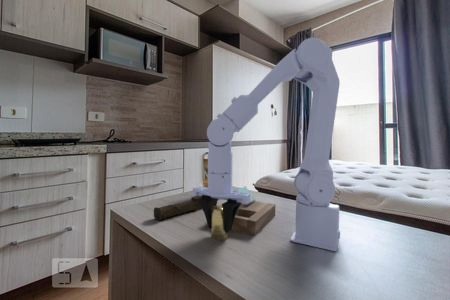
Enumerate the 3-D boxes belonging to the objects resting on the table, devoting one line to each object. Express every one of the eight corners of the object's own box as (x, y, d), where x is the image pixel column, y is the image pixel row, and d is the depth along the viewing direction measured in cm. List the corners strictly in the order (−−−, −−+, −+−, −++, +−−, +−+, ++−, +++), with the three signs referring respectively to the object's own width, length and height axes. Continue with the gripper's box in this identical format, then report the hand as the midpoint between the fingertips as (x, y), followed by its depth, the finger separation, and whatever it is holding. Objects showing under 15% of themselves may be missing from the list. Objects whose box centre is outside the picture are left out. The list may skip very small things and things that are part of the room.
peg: (231, 235, 53) (231, 207, 53) (222, 242, 50) (222, 211, 49) (217, 232, 55) (217, 204, 55) (208, 238, 52) (208, 209, 51)
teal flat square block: (253, 202, 69) (255, 200, 69) (245, 207, 64) (247, 205, 64) (243, 187, 71) (245, 185, 71) (234, 191, 66) (237, 189, 65)
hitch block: (275, 215, 67) (275, 204, 67) (255, 235, 53) (255, 221, 53) (234, 208, 74) (234, 197, 74) (207, 224, 60) (207, 211, 60)
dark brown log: (159, 223, 61) (158, 207, 61) (152, 219, 64) (152, 203, 64) (212, 209, 74) (212, 195, 74) (204, 206, 77) (204, 193, 77)
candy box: (202, 195, 90) (202, 158, 89) (209, 193, 93) (209, 157, 93) (218, 199, 84) (218, 159, 84) (225, 197, 88) (225, 158, 87)
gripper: (255, 172, 52) (254, 229, 52) (204, 167, 59) (204, 218, 59) (242, 176, 45) (242, 241, 46) (187, 171, 53) (187, 227, 53)
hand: (219, 229), depth 52 cm, fingers closed on peg, 4 cm apart
